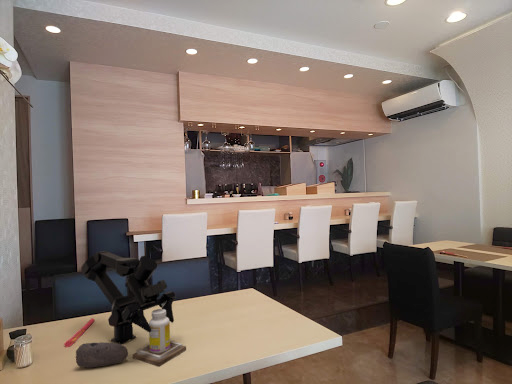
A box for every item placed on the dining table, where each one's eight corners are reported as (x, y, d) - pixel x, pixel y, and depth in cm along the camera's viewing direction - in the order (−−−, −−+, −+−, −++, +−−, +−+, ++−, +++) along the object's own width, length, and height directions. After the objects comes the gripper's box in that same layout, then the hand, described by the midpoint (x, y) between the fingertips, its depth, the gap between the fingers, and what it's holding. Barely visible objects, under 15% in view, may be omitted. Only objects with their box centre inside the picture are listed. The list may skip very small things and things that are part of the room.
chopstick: (60, 350, 114) (73, 345, 114) (58, 345, 114) (71, 340, 114) (87, 324, 138) (98, 320, 138) (85, 320, 138) (96, 315, 138)
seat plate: (132, 357, 104) (132, 351, 105) (160, 343, 115) (160, 336, 115) (159, 366, 98) (159, 359, 99) (186, 349, 109) (185, 343, 109)
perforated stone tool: (130, 358, 104) (130, 336, 105) (126, 366, 99) (125, 344, 99) (81, 363, 102) (81, 341, 102) (74, 371, 97) (74, 348, 97)
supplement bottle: (167, 343, 111) (166, 306, 112) (172, 351, 106) (171, 312, 106) (147, 348, 108) (146, 310, 109) (151, 356, 102) (150, 316, 103)
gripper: (126, 280, 102) (148, 322, 95) (172, 268, 117) (194, 304, 111) (112, 301, 106) (133, 342, 100) (158, 287, 121) (179, 322, 115)
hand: (162, 326), depth 106 cm, fingers open, 9 cm apart
